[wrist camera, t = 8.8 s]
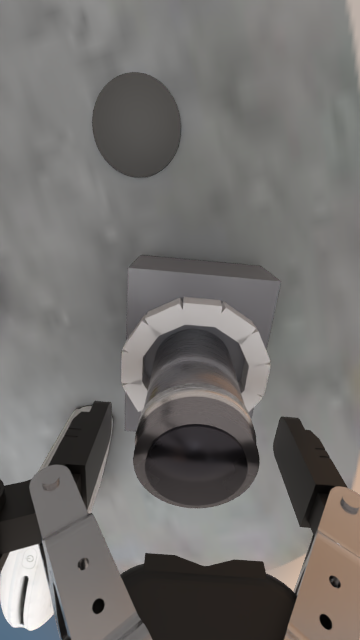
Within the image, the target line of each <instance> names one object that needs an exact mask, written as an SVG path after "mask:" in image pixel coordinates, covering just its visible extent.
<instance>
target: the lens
mask: <svg viewBox="0 0 360 640" xmlns="http://www.w3.org/2000/svg"><path fill="white" fill-rule="evenodd" d="M133 464H134V469H135V473H136V475H137V478H138V479H139V481H140V483H141V484H142V485H143V486H144V488H145V489H147V490H148V491H149V492H150V493H151V494H152V495H154V496H155V497H157V498H159V499H160V500H162V501H165V502H167V503H169V504H172V505H176V506H180V507H186V508H207V507H214V506H218V505H221V504H224V503H227V502H229V501H231V500H233V499H235V498H236V497H238V496H240V495H241V494H242V493H243V492H245V491H246V490H247V489H248V488H249V487H250V485H251V484H252V482H253V481H254V479H255V477H256V475H257V472H258V469H259V453H258V449H257V446H256V435H255V430H254V427H253V424H252V420H251V417H250V415H249V412H248V411H247V409H246V407H245V405H244V401H243V398H242V394H241V391H240V388H239V384H238V381H237V377H236V374H235V371H234V367H233V364H232V360H231V357H230V354H229V351H228V349H227V347H226V345H225V344H224V343H223V341H222V340H221V339H220V338H218V337H217V336H216V335H214V334H212V333H210V332H208V331H205V330H201V329H185V330H181V331H178V332H175V333H173V334H171V335H170V336H168V337H167V338H166V339H165V340H164V341H163V342H162V343H161V345H160V346H159V348H158V350H157V352H156V356H155V360H154V364H153V369H152V373H151V378H150V383H149V387H148V392H147V396H146V401H145V405H144V409H143V411H142V413H141V415H140V418H139V422H138V426H137V431H136V436H135V450H134V457H133Z"/></svg>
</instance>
